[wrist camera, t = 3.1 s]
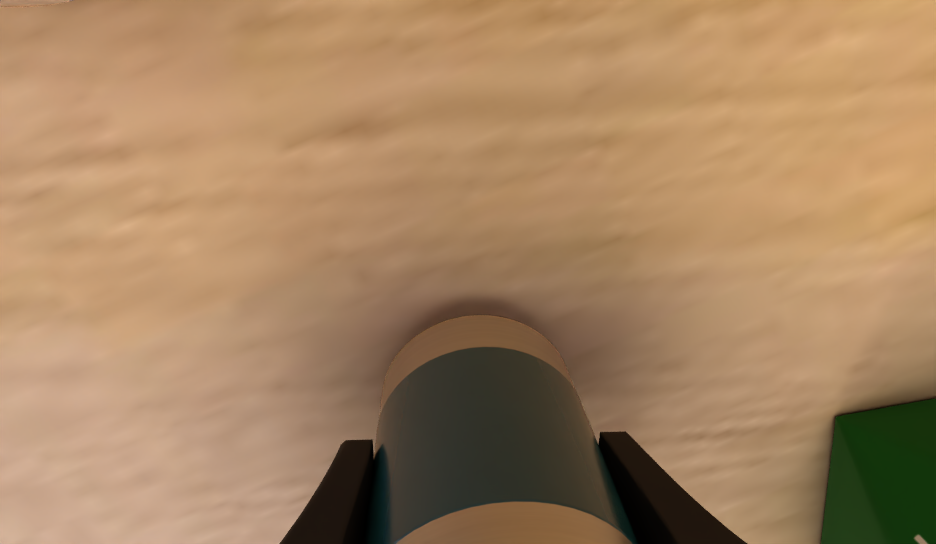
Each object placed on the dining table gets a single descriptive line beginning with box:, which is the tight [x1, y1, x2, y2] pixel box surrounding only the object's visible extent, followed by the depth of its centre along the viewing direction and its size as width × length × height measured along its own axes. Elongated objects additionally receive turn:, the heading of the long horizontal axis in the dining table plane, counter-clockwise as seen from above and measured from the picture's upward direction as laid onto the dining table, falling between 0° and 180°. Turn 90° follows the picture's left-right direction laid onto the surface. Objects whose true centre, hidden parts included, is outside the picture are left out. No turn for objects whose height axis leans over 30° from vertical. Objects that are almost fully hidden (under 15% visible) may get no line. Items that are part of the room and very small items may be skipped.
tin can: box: [364, 315, 638, 544], centre depth 12 cm, size 5×5×8 cm
